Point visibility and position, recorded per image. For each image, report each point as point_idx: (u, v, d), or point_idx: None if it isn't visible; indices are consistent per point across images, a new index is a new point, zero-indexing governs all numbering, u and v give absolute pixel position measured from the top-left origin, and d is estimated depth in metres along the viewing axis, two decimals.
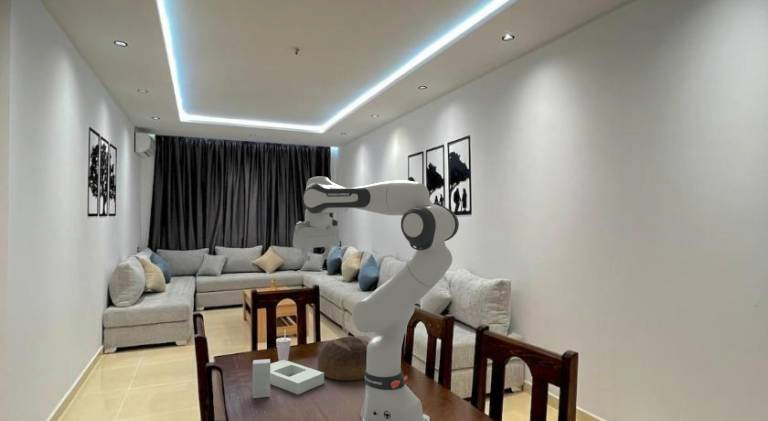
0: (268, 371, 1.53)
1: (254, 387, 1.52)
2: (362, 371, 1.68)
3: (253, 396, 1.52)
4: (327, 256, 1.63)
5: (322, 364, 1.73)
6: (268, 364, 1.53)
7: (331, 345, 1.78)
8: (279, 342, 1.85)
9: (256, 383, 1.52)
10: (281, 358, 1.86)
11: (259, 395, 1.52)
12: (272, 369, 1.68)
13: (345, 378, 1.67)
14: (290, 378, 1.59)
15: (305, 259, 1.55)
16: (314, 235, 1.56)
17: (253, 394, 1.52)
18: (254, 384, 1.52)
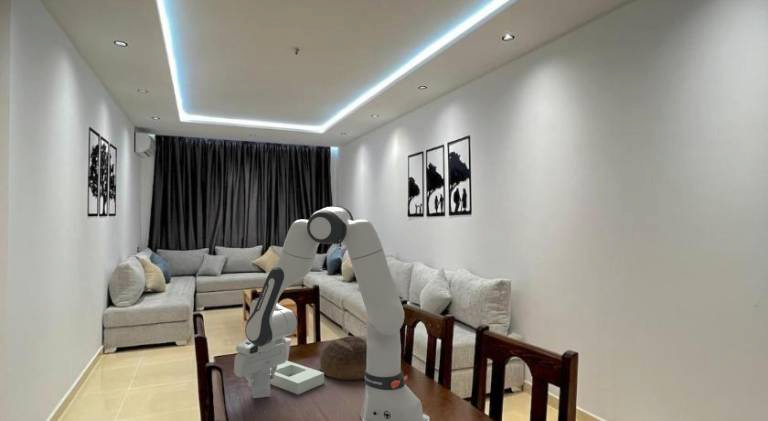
0: (268, 371, 1.53)
1: (254, 387, 1.52)
2: (364, 371, 1.68)
3: (253, 396, 1.52)
4: None
5: (325, 363, 1.74)
6: (268, 364, 1.53)
7: (333, 345, 1.78)
8: None
9: (256, 383, 1.52)
10: None
11: (259, 395, 1.52)
12: None
13: (347, 377, 1.68)
14: (290, 378, 1.59)
15: None
16: None
17: (253, 394, 1.52)
18: None
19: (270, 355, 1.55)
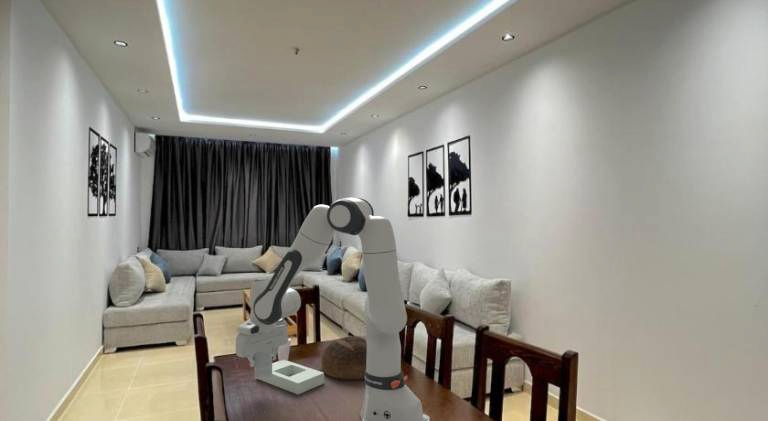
0: (270, 352, 1.53)
1: (256, 368, 1.52)
2: None
3: (255, 377, 1.52)
4: None
5: (326, 363, 1.74)
6: (270, 345, 1.53)
7: (335, 344, 1.79)
8: None
9: (258, 363, 1.52)
10: (281, 358, 1.86)
11: (261, 376, 1.52)
12: (272, 369, 1.68)
13: (348, 377, 1.68)
14: (290, 378, 1.59)
15: None
16: None
17: (255, 375, 1.52)
18: (256, 365, 1.52)
19: (271, 336, 1.55)
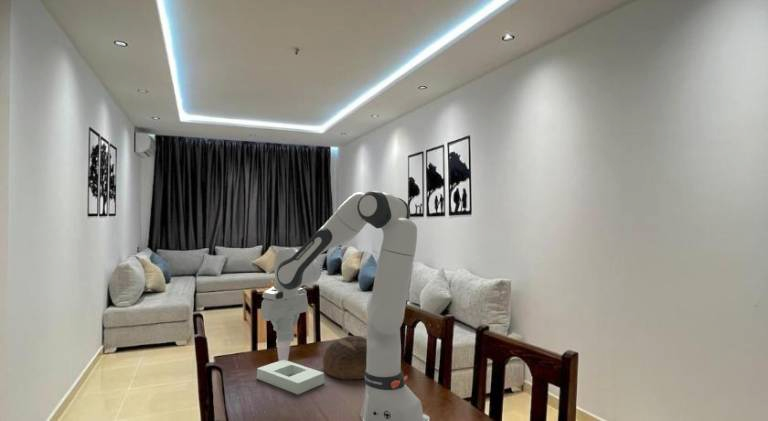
0: (292, 317, 1.63)
1: (279, 332, 1.62)
2: None
3: (278, 340, 1.62)
4: None
5: (327, 363, 1.74)
6: (292, 310, 1.63)
7: (336, 344, 1.79)
8: (279, 342, 1.85)
9: (280, 328, 1.62)
10: (281, 358, 1.86)
11: (283, 339, 1.62)
12: (272, 369, 1.68)
13: (350, 377, 1.68)
14: (290, 378, 1.59)
15: None
16: None
17: (278, 338, 1.62)
18: None
19: (293, 303, 1.66)
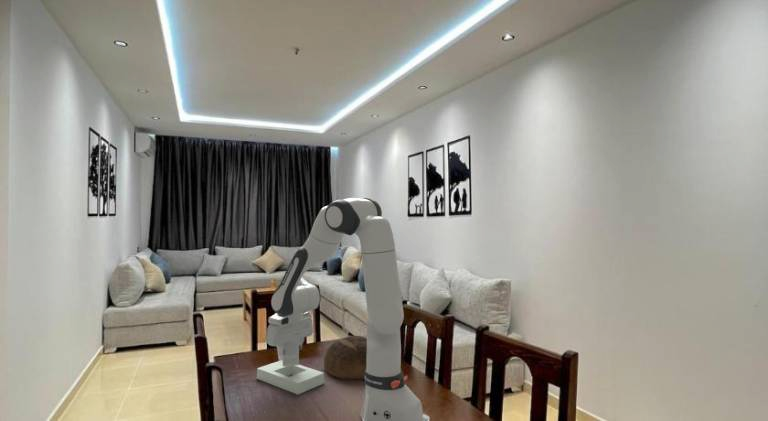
0: (297, 342, 1.66)
1: (284, 356, 1.65)
2: None
3: (283, 364, 1.65)
4: None
5: (329, 363, 1.75)
6: (297, 335, 1.66)
7: (337, 344, 1.79)
8: None
9: (286, 352, 1.65)
10: (281, 358, 1.86)
11: (289, 363, 1.65)
12: (272, 369, 1.68)
13: (351, 377, 1.69)
14: (290, 378, 1.59)
15: None
16: None
17: (283, 363, 1.65)
18: None
19: (298, 327, 1.68)
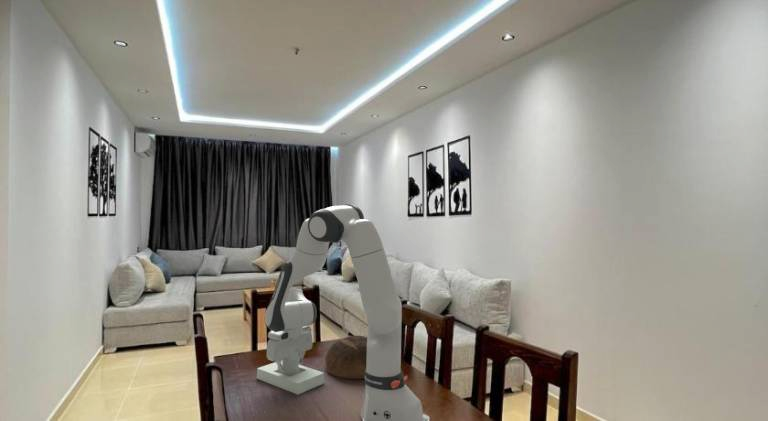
0: (297, 358, 1.66)
1: (284, 373, 1.65)
2: None
3: None
4: None
5: (330, 362, 1.75)
6: (297, 352, 1.66)
7: (338, 344, 1.80)
8: None
9: (286, 369, 1.65)
10: None
11: None
12: (272, 369, 1.68)
13: (352, 376, 1.69)
14: (290, 378, 1.59)
15: None
16: None
17: None
18: (284, 370, 1.65)
19: (298, 342, 1.69)
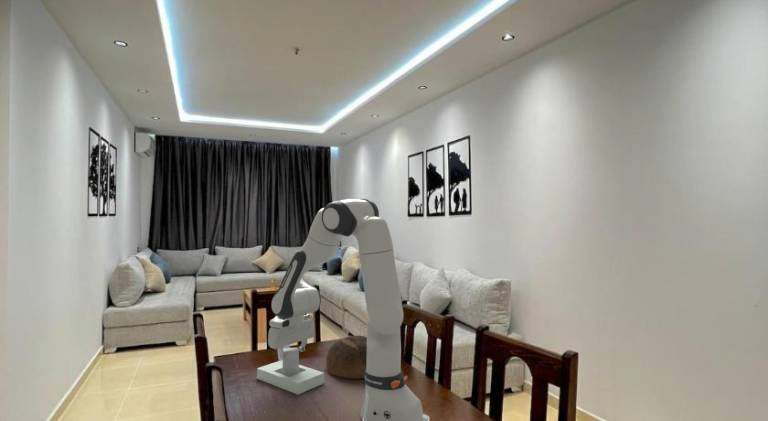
0: (297, 358, 1.66)
1: (284, 373, 1.65)
2: None
3: None
4: None
5: (331, 362, 1.75)
6: (297, 352, 1.66)
7: (339, 344, 1.80)
8: None
9: (286, 369, 1.65)
10: (281, 358, 1.86)
11: None
12: (272, 369, 1.68)
13: (353, 376, 1.69)
14: (290, 378, 1.59)
15: None
16: None
17: None
18: (284, 370, 1.65)
19: (300, 330, 1.69)
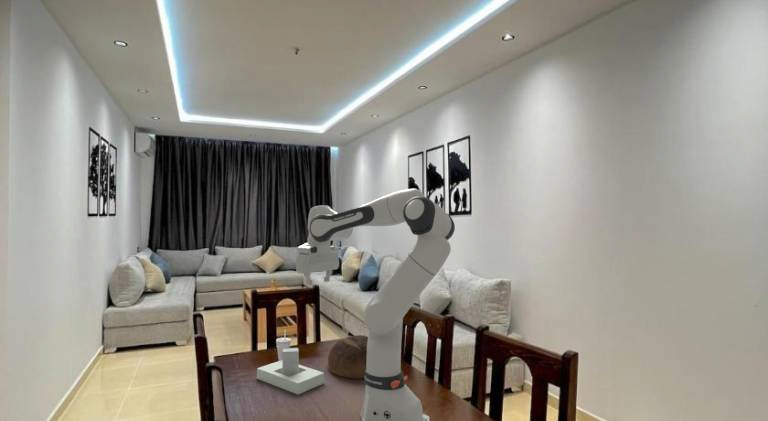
0: (297, 359, 1.66)
1: (284, 373, 1.65)
2: None
3: None
4: None
5: (332, 362, 1.76)
6: (297, 352, 1.66)
7: (341, 343, 1.80)
8: (279, 342, 1.85)
9: (286, 369, 1.65)
10: (281, 358, 1.86)
11: None
12: (272, 369, 1.68)
13: (354, 376, 1.69)
14: (290, 378, 1.59)
15: None
16: None
17: None
18: (284, 370, 1.65)
19: (326, 259, 1.71)
